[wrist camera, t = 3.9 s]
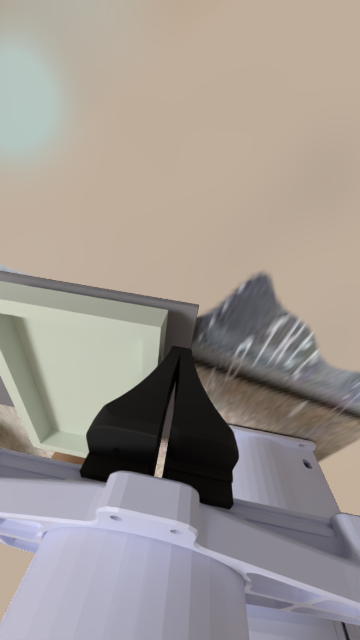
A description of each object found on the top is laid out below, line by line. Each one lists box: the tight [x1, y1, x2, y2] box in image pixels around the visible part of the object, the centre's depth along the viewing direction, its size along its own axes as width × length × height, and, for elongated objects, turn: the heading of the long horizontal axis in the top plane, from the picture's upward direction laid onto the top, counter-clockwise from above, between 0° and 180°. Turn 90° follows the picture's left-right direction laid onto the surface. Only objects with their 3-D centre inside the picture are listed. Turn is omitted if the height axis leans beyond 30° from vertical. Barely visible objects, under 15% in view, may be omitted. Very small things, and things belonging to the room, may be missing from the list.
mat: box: [0, 271, 199, 438], centre depth 18 cm, size 22×17×1 cm
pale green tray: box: [0, 281, 168, 458], centre depth 16 cm, size 12×17×3 cm
